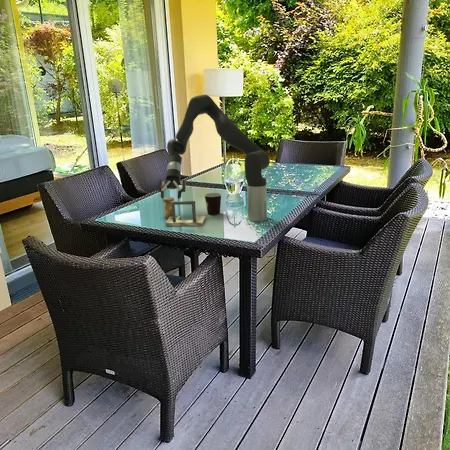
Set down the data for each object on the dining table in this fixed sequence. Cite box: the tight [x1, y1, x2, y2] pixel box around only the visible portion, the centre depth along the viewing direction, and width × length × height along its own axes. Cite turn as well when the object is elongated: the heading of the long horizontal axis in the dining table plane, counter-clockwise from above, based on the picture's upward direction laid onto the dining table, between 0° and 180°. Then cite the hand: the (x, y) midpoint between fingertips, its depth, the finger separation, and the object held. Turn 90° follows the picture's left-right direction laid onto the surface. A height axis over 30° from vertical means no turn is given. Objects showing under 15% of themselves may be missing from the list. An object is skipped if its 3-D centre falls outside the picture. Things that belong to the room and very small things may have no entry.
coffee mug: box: [204, 192, 222, 216], centre depth 227 cm, size 12×9×10 cm
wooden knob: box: [162, 196, 175, 220], centre depth 225 cm, size 6×6×10 cm
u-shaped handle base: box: [165, 200, 207, 227], centre depth 216 cm, size 18×11×12 cm, turn 84°
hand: (170, 198), depth 228 cm, fingers open, 8 cm apart
